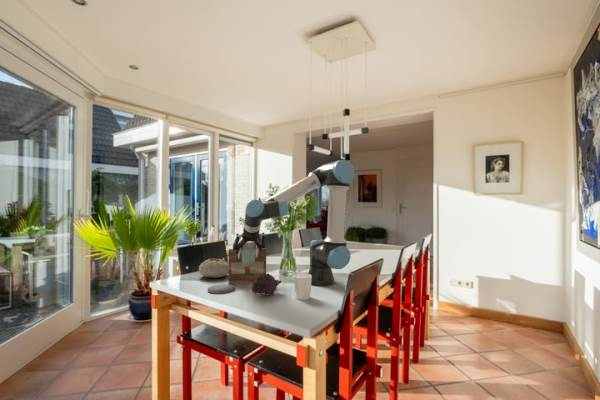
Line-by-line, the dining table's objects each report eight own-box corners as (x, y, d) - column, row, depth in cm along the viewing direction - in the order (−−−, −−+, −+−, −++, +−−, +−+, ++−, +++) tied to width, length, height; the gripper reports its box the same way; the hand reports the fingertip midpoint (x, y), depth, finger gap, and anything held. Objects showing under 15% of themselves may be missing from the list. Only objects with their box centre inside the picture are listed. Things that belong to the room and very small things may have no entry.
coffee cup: (253, 267, 146) (253, 242, 146) (237, 266, 148) (237, 242, 148) (259, 263, 155) (259, 240, 155) (243, 263, 156) (243, 240, 156)
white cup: (294, 294, 140) (294, 273, 140) (311, 295, 140) (311, 273, 140) (293, 300, 132) (294, 277, 133) (311, 300, 132) (311, 278, 132)
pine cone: (258, 302, 129) (258, 279, 129) (243, 297, 136) (243, 275, 136) (285, 293, 143) (286, 272, 143) (271, 289, 149) (271, 269, 149)
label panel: (228, 281, 163) (228, 248, 163) (265, 279, 167) (265, 247, 167) (228, 284, 157) (228, 250, 157) (266, 282, 161) (266, 249, 161)
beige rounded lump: (233, 273, 182) (233, 256, 182) (226, 281, 164) (227, 262, 164) (204, 273, 182) (204, 256, 182) (194, 280, 164) (194, 262, 164)
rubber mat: (239, 290, 147) (239, 288, 147) (215, 295, 138) (215, 293, 138) (226, 284, 156) (226, 282, 156) (202, 289, 148) (202, 287, 148)
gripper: (228, 234, 133) (226, 263, 149) (275, 232, 140) (269, 260, 155) (228, 221, 139) (226, 250, 154) (273, 220, 145) (267, 248, 160)
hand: (247, 255), depth 154 cm, fingers closed on coffee cup, 8 cm apart
